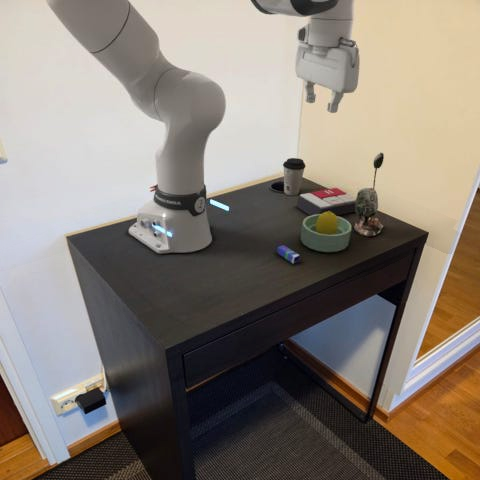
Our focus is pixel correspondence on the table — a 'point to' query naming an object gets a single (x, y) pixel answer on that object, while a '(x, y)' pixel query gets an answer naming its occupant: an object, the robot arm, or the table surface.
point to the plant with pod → (368, 206)
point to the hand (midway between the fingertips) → (320, 107)
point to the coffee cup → (293, 175)
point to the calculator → (326, 202)
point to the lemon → (327, 223)
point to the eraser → (288, 254)
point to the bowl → (325, 235)
